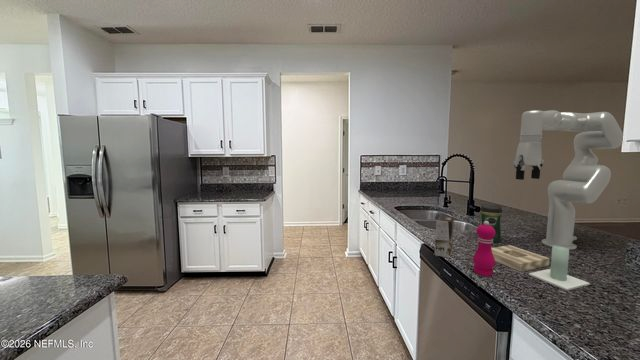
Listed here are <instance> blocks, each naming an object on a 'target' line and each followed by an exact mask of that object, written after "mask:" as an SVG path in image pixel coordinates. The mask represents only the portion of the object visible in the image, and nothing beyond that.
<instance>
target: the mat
mask: <svg viewBox="0 0 640 360" xmlns="http://www.w3.org/2000/svg"><path fill="white" fill-rule="evenodd" d="M550 269H551V268H547V269H543V270H538V271H533V272H528V276H530V277H532V278H535V279H538V280H540V281H542V282H544V283H547V284H549V285H552V286H554V287H557V288H559V289H562V290H564V291H566V292H567V291H572V290H575V289H580V288H583V286H584V287H587V286H591V282H588V281H585V280H582V279H579V278H578V277H574V276H571V275H570V274H567V280H566V281H559V280H556V279H553V278H551V277H550Z"/></svg>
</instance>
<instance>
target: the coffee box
mask: <svg viewBox="0 0 640 360" xmlns="http://www.w3.org/2000/svg"><path fill="white" fill-rule="evenodd" d="M454 219H455V218H454V217H453V216H441V215H439V216H438V217H437V218H436V220H435V237H434V238H435V239H434V241H435V242H434V255H435V256H438V257H442V258H447V259H450V258H451V255H452V253H453V241H454V240H453V239H454V238H453V237H454V221H455V220H454Z"/></svg>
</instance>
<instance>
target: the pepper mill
mask: <svg viewBox="0 0 640 360" xmlns="http://www.w3.org/2000/svg"><path fill="white" fill-rule="evenodd" d="M476 234H477V242H478V245H477V248H476V251H475V253H474V254H473V257H472V262H473V264H474V266H473V271H474V273H475V274H477V275H479V276H484V277H492V276H493V275H494V269H493V268H495V266H496V261H495V258H494V256H493V253H492V250H491V248H492V245H493V243H494V242H493V237H494V236H495V229H494V228H493V227H492V226H490V225H489V222H488V221H484V225H481V224H480V225H478V226H477V227H476Z"/></svg>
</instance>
